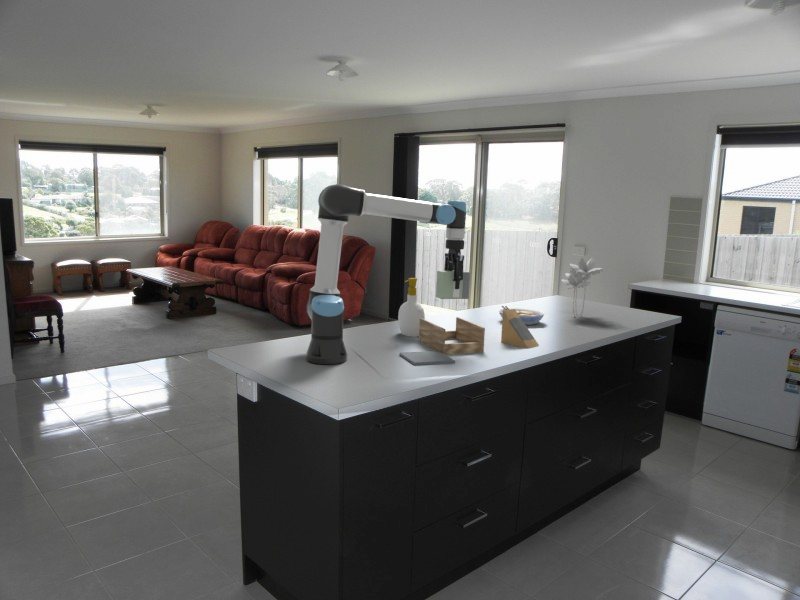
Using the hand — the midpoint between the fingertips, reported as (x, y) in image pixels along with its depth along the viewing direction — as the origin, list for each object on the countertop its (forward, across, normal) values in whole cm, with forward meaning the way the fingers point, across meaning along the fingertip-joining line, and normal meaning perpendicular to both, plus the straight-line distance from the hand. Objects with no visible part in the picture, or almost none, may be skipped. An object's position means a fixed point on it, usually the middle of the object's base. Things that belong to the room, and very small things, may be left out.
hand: (452, 295), depth 245 cm
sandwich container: (+21, -5, -31) cm, 38 cm away
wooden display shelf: (+21, 0, 0) cm, 21 cm away
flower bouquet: (+21, +42, -94) cm, 105 cm away
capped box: (+1, 0, 0) cm, 1 cm away
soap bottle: (+22, +23, +9) cm, 33 cm away
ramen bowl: (+21, +37, -56) cm, 70 cm away
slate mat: (+21, -18, +18) cm, 33 cm away
